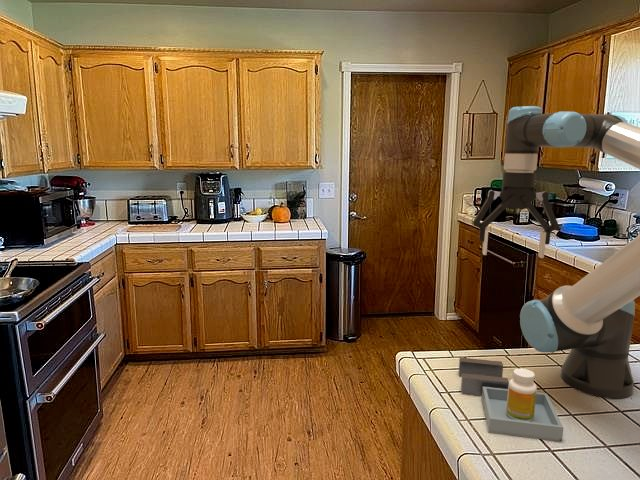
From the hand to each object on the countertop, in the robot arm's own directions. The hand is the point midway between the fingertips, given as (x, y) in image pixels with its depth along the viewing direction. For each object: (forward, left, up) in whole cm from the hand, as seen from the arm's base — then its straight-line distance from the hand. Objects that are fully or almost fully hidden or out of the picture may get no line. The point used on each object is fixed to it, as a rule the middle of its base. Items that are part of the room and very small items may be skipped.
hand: (512, 255), depth 122 cm
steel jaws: (+7, +16, -29) cm, 33 cm away
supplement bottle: (+1, +29, -28) cm, 40 cm away
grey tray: (+1, +29, -29) cm, 41 cm away
